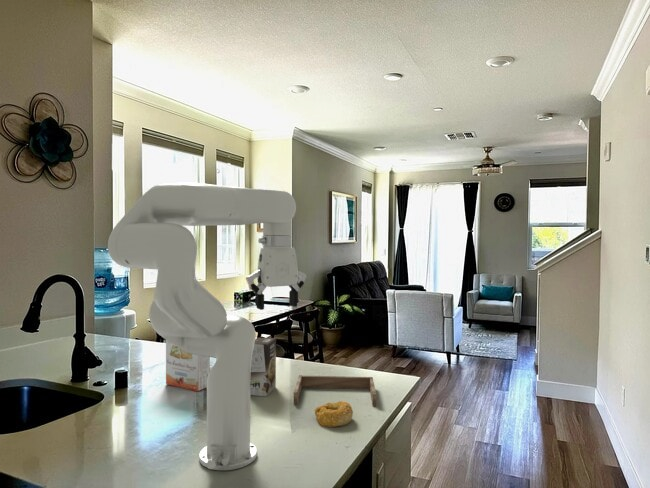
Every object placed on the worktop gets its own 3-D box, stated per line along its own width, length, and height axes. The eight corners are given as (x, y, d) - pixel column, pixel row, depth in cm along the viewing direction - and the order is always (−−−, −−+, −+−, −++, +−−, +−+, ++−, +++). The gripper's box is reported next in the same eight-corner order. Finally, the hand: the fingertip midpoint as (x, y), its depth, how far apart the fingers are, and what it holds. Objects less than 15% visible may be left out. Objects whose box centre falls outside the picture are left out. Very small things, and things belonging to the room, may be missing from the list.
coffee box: (267, 397, 141) (267, 344, 141) (247, 395, 142) (247, 343, 142) (276, 387, 150) (276, 337, 150) (257, 385, 151) (257, 336, 151)
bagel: (332, 409, 132) (332, 393, 132) (360, 422, 124) (361, 404, 124) (305, 419, 125) (305, 402, 125) (333, 433, 117) (334, 414, 117)
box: (376, 406, 134) (376, 394, 134) (293, 404, 135) (293, 392, 135) (372, 387, 150) (372, 377, 150) (298, 386, 151) (298, 375, 151)
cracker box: (164, 385, 151) (164, 321, 150) (178, 380, 156) (178, 318, 156) (197, 392, 144) (197, 325, 144) (210, 386, 150) (210, 322, 149)
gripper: (252, 243, 114) (252, 312, 114) (313, 242, 123) (312, 306, 124) (240, 242, 120) (240, 308, 121) (299, 242, 129) (298, 303, 130)
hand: (277, 307), depth 122 cm, fingers open, 9 cm apart
